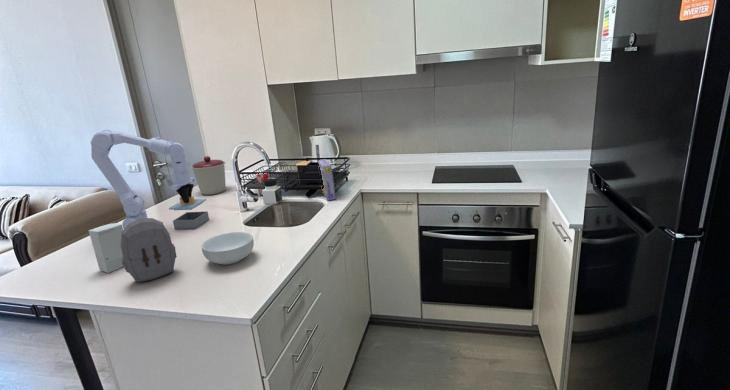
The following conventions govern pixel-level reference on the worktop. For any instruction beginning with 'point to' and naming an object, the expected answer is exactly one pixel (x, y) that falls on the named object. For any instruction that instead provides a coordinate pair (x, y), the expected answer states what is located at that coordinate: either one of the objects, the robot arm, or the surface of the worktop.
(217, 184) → the canister
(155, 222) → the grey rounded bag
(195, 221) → the tub
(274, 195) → the medicine bottle
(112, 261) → the skincare box
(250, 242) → the cereal bowl
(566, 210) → the worktop surface
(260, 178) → the soda can
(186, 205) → the lid
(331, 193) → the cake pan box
